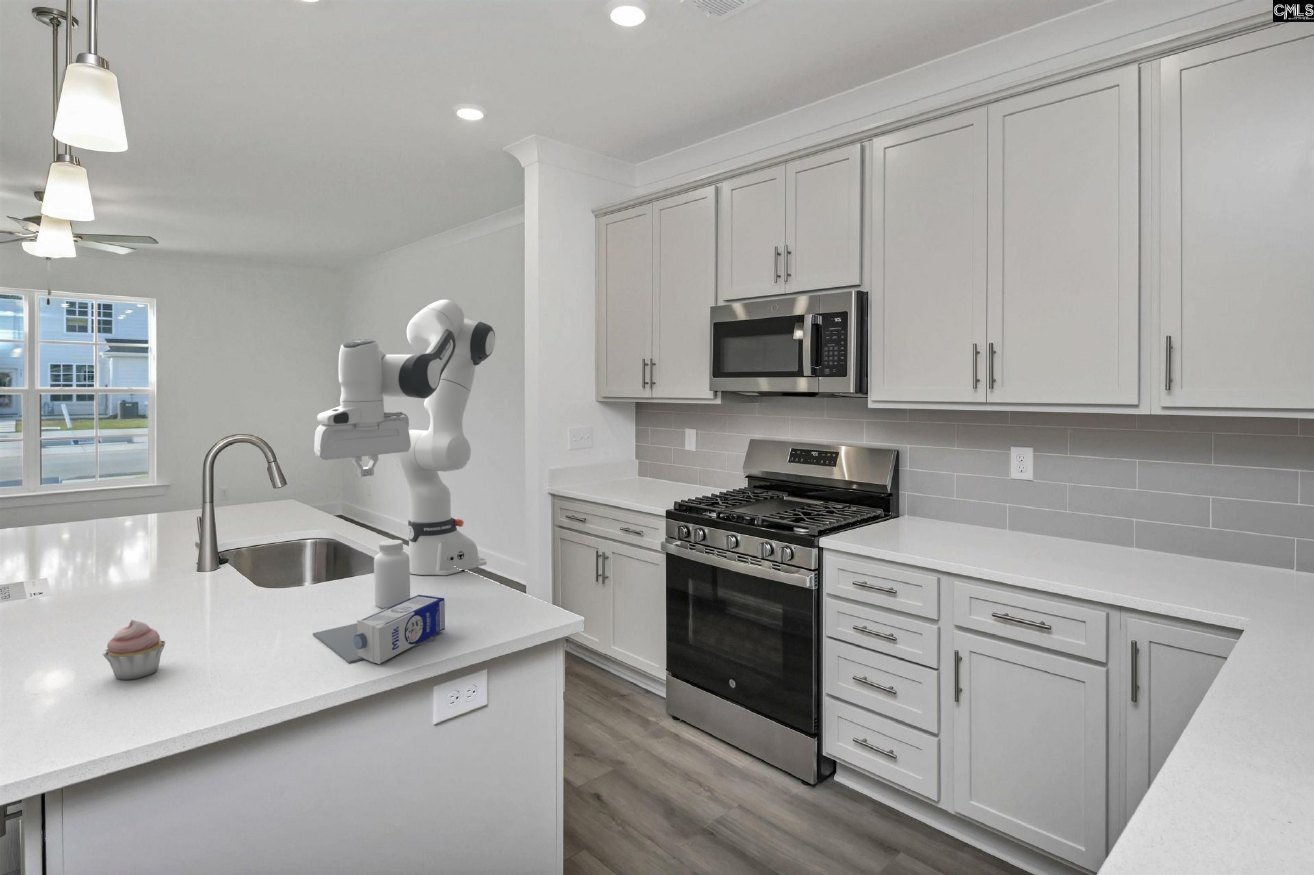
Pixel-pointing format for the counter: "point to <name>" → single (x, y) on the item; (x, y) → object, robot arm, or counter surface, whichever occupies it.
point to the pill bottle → (391, 574)
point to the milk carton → (399, 627)
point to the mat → (346, 641)
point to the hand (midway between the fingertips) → (365, 475)
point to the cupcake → (134, 651)
